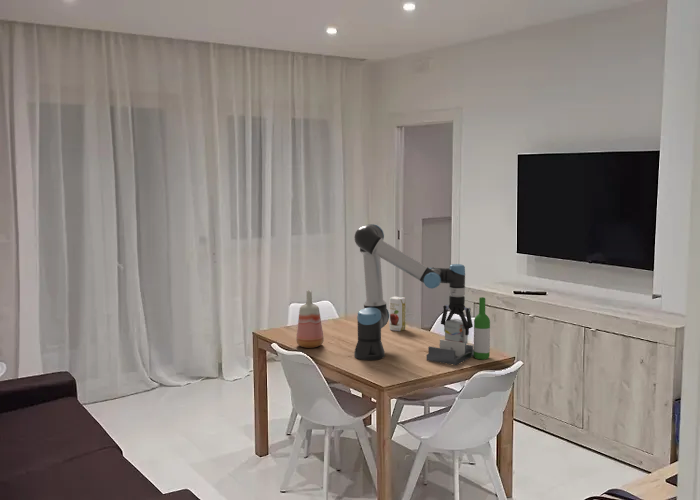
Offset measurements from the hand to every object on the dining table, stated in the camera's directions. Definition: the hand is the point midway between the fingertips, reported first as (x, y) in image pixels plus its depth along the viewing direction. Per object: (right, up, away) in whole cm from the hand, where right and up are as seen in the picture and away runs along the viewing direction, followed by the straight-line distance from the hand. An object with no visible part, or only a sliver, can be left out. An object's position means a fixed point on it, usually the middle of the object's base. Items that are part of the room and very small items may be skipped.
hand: (456, 339), depth 331 cm
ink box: (0, -2, 0) cm, 2 cm away
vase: (-74, -6, +20) cm, 77 cm away
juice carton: (-26, -2, +54) cm, 60 cm away
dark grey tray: (-3, -8, -4) cm, 10 cm away
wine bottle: (+11, -8, -5) cm, 15 cm away
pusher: (-4, -7, -5) cm, 10 cm away
